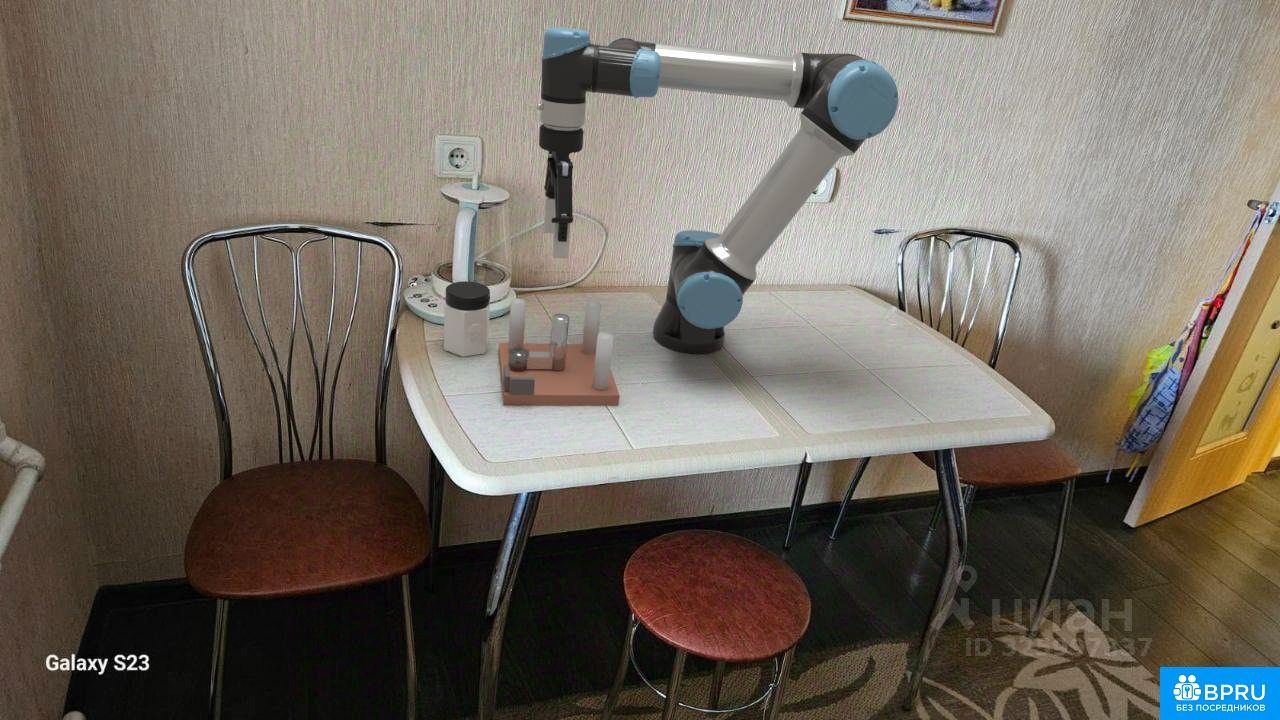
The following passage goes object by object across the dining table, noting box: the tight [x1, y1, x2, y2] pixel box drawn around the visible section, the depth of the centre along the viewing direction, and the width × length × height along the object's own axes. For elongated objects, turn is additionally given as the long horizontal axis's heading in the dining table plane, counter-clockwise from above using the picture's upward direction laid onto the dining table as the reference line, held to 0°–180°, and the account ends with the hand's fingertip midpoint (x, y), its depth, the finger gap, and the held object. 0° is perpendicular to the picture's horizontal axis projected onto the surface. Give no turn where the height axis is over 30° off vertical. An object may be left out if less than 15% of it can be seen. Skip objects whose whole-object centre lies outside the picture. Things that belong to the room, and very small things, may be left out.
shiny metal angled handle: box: [508, 312, 570, 371], centre depth 146 cm, size 10×4×10 cm, turn 102°
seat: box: [498, 297, 620, 406], centre depth 147 cm, size 20×20×12 cm
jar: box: [443, 281, 491, 358], centre depth 154 cm, size 9×8×12 cm
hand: (555, 244), depth 148 cm, fingers open, 13 cm apart
